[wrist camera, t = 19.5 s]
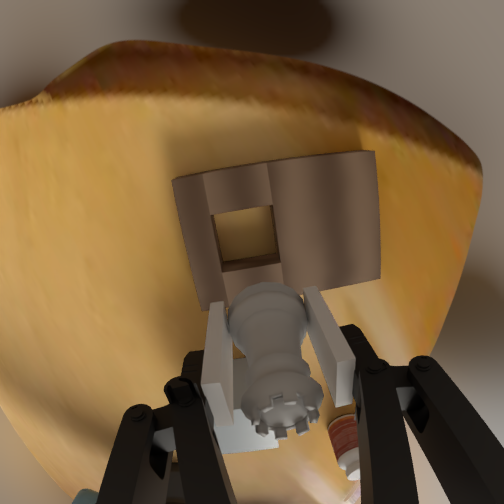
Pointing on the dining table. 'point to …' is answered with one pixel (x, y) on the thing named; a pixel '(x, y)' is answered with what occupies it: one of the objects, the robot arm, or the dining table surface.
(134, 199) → the dining table surface
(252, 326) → the rook chess piece
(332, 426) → the pill bottle
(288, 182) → the socket board
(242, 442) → the block
